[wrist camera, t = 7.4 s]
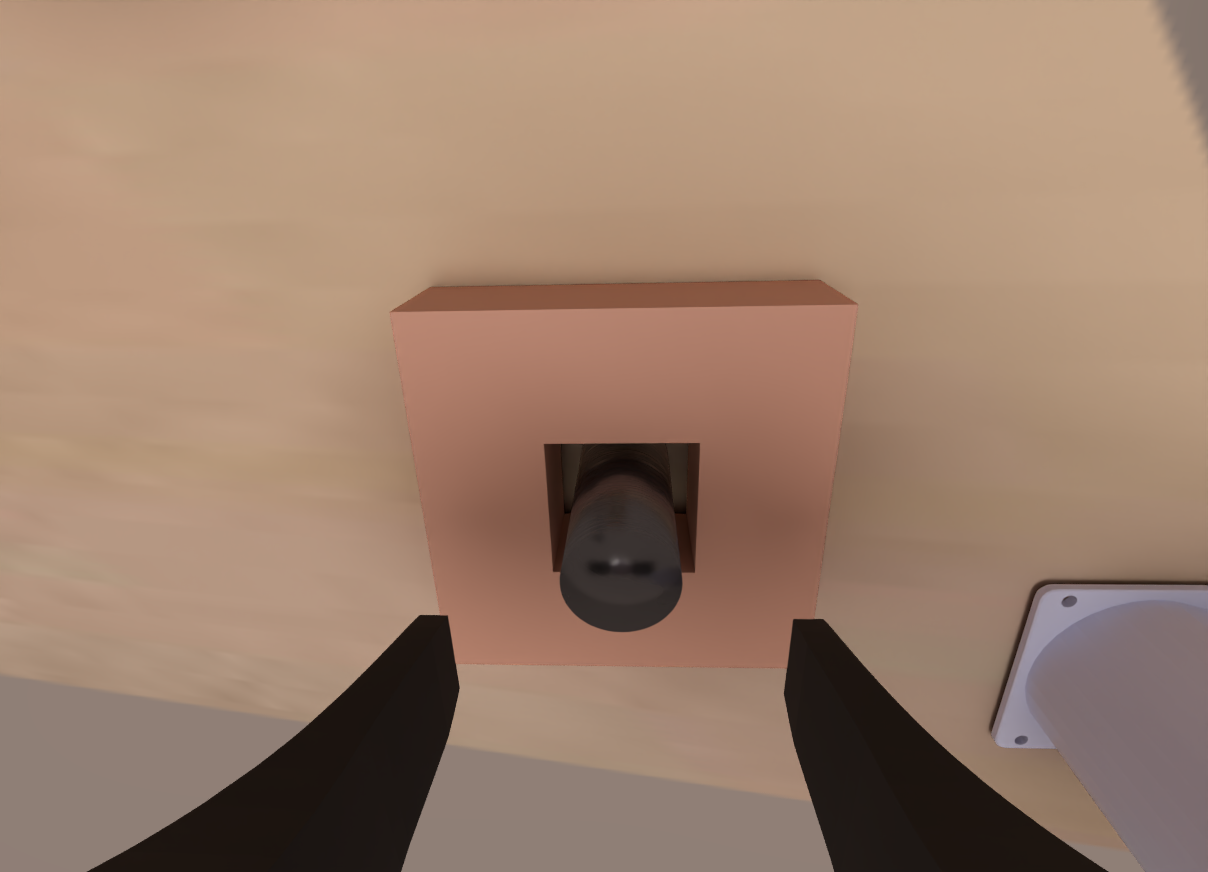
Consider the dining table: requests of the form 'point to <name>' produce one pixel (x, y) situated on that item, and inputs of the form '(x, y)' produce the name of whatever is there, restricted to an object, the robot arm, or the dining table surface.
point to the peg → (622, 538)
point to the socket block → (626, 415)
